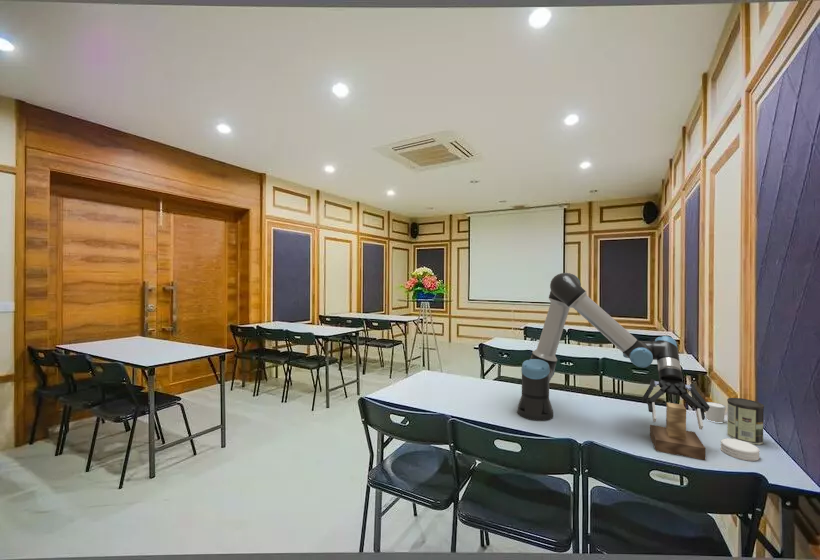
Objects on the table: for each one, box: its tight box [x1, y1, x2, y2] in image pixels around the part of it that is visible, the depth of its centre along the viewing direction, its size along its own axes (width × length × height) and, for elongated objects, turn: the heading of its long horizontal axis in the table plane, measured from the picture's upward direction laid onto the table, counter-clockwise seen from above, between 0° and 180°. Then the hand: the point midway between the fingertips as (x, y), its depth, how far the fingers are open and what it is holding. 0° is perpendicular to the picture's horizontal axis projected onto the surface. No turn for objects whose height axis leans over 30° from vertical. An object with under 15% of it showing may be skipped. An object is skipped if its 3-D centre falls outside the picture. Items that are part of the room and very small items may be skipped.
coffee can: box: [726, 397, 765, 446], centre depth 137 cm, size 10×10×14 cm
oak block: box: [665, 402, 687, 440], centre depth 130 cm, size 5×5×11 cm
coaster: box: [720, 438, 761, 462], centre depth 125 cm, size 10×10×4 cm
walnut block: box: [649, 424, 707, 461], centre depth 130 cm, size 14×14×4 cm
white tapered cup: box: [705, 401, 727, 422], centre depth 153 cm, size 7×7×7 cm
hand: (677, 424), depth 128 cm, fingers open, 13 cm apart
